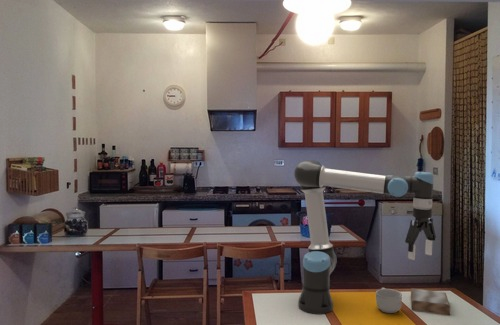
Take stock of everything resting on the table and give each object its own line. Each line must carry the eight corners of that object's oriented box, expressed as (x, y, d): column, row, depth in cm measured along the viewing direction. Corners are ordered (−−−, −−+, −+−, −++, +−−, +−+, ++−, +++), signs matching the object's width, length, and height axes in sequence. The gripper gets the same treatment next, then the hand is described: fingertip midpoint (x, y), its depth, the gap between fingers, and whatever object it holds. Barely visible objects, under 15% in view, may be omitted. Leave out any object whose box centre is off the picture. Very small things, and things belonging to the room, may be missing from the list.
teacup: (403, 316, 172) (403, 297, 172) (376, 314, 175) (376, 295, 174) (398, 304, 186) (398, 287, 186) (373, 302, 188) (373, 285, 188)
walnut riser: (411, 309, 180) (412, 300, 180) (410, 296, 196) (410, 287, 196) (449, 315, 175) (450, 305, 175) (445, 301, 191) (445, 292, 191)
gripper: (414, 211, 166) (412, 263, 167) (445, 207, 181) (443, 254, 182) (397, 208, 172) (395, 258, 173) (429, 205, 187) (427, 251, 188)
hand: (420, 257), depth 177 cm, fingers open, 13 cm apart
